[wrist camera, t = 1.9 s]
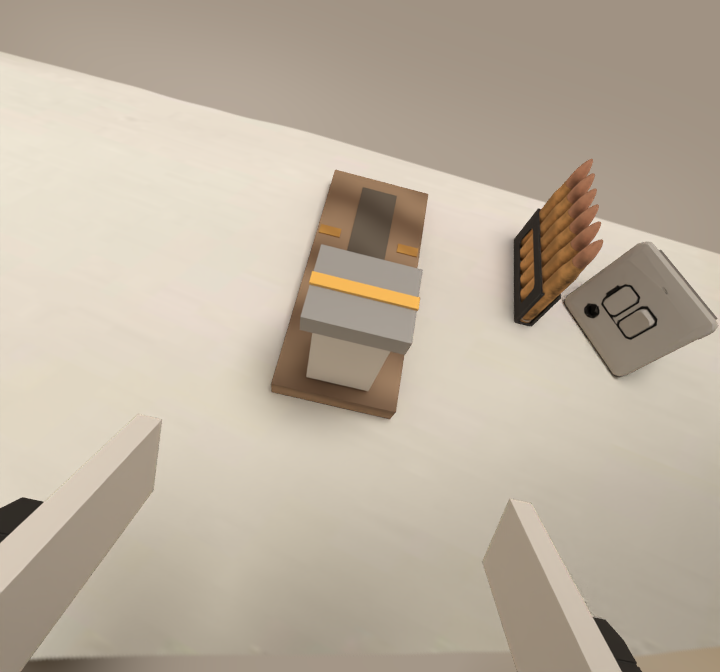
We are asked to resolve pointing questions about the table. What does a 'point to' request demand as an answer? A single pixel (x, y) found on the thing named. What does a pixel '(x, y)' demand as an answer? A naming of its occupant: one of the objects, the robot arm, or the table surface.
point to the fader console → (367, 237)
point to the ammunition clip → (555, 247)
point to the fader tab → (357, 315)
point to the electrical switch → (639, 310)
